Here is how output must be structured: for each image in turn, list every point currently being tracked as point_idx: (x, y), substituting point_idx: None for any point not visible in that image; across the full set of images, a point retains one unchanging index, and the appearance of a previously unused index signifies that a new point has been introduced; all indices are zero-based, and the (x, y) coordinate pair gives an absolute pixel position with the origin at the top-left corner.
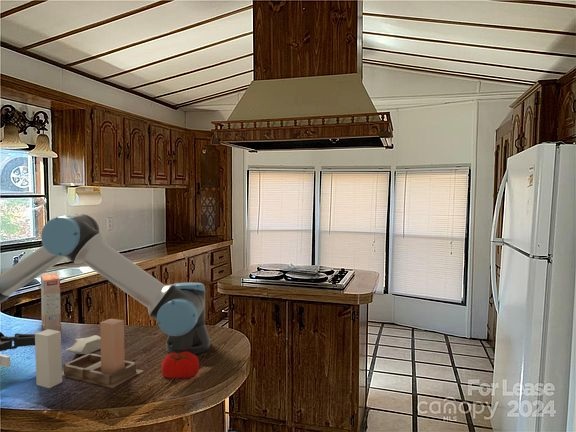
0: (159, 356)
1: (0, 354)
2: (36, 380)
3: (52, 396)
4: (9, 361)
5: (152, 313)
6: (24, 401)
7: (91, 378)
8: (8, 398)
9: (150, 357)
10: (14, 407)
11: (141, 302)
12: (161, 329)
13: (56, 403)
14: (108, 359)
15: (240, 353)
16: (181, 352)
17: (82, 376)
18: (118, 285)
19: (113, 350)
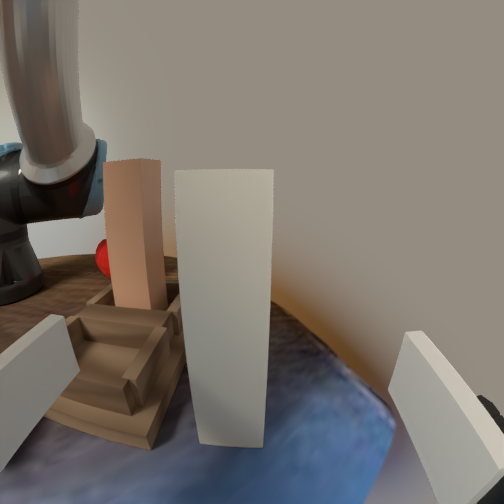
0: (29, 306)
1: (456, 397)
2: (264, 421)
3: (273, 380)
4: (400, 362)
5: (86, 166)
6: (340, 415)
7: (180, 326)
8: (364, 471)
9: (29, 314)
10: (377, 405)
11: (66, 142)
12: (102, 198)
13: (295, 352)
14: (157, 265)
15: (57, 258)
16: (103, 243)
17: (168, 348)
18: (61, 82)
19: (161, 232)
